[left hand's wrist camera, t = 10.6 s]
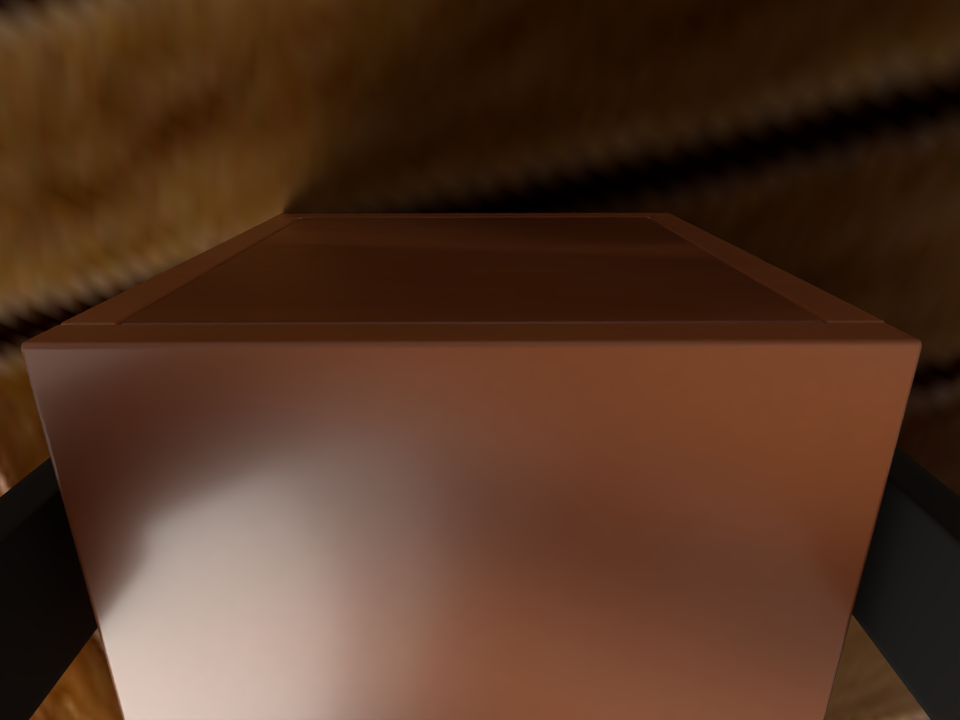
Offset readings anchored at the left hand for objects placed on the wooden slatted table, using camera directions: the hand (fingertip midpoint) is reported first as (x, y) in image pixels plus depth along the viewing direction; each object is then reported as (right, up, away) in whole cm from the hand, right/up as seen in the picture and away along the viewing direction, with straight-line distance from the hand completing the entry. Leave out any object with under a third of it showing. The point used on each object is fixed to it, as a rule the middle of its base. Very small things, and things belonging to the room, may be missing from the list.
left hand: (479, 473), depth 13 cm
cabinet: (0, -2, +9) cm, 9 cm away
